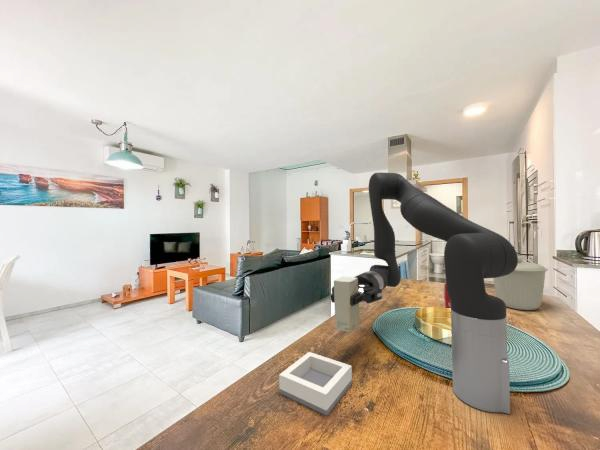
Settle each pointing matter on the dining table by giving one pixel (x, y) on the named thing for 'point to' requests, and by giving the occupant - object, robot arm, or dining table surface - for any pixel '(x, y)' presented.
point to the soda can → (446, 297)
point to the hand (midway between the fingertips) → (342, 299)
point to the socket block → (316, 382)
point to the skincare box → (346, 304)
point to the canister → (522, 286)
